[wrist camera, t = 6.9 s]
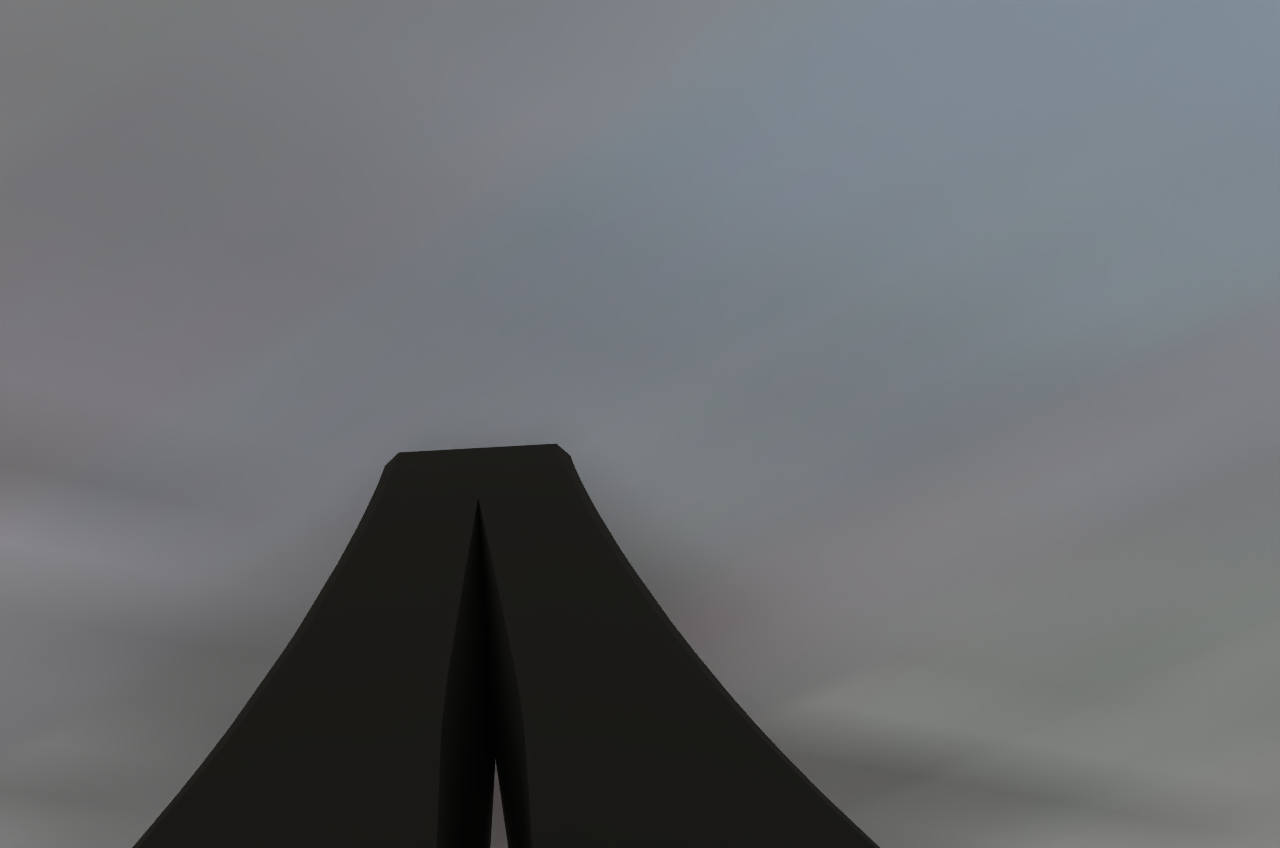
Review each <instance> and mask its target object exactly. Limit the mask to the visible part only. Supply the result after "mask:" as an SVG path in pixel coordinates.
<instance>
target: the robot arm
mask: <svg viewBox="0 0 1280 848" xmlns="http://www.w3.org/2000/svg"><path fill="white" fill-rule="evenodd" d="M495 758H496V765H497V772H498V779H499V786H500V793H501V800H502V807H503V814H504V821H505V827H506V834H507V841H508V848H880V847H879V846H878V845H876V844H875V843H874V842H873V841H872V840H871V839H870V838H869V837H868V836H867V835H866V834H865V833H864V832H863V831H862V830H861V829H860V828H859V827H857V826H856V825H855V824H854V823H853V822H852V821H851V820H850V819H849V818H848V817H847V816H846V815H845V814H844V813H843V812H842V811H841V810H839V809H838V808H837V807H836V806H835V805H834V804H833V803H832V802H831V801H830V800H829V799H828V798H827V797H826V796H825V795H824V794H823V793H822V792H821V791H820V790H819V789H818V788H817V787H816V786H815V785H814V784H813V783H812V782H811V781H810V780H809V779H808V778H807V777H806V776H805V775H804V774H803V773H802V772H801V771H800V770H799V769H798V768H797V767H796V766H795V765H794V764H793V763H792V762H791V761H790V760H789V759H788V758H787V757H786V756H785V755H784V754H783V753H782V752H781V751H780V750H779V749H778V748H777V746H776V745H775V744H774V743H773V742H772V741H771V740H770V739H769V738H768V737H767V736H766V735H765V733H764V732H763V731H762V730H761V729H760V728H759V727H758V726H757V725H756V724H755V723H754V721H753V720H752V719H751V718H750V717H749V716H748V715H747V714H746V712H745V711H744V710H743V709H742V708H741V707H740V706H739V704H738V703H737V702H736V701H735V700H734V699H733V698H732V696H731V695H730V694H729V693H728V692H727V690H726V689H725V688H724V687H723V686H722V684H721V683H720V682H719V681H718V680H717V678H716V677H715V676H714V675H713V674H712V672H711V671H710V670H709V669H708V668H707V666H706V665H705V664H704V663H703V662H702V660H701V659H700V658H699V657H698V655H697V654H696V653H695V652H694V651H693V649H692V648H691V647H690V645H689V644H688V643H687V642H686V640H685V639H684V638H683V636H682V635H681V634H680V632H679V631H678V630H677V629H676V627H675V626H674V625H673V623H672V622H671V621H670V619H669V618H668V617H667V615H666V614H665V612H664V611H663V610H662V608H661V607H660V605H659V604H658V603H657V601H656V600H655V598H654V597H653V596H652V594H651V593H650V591H649V590H648V589H647V587H646V586H645V584H644V583H643V582H642V580H641V579H640V577H639V576H638V575H637V573H636V572H635V570H634V569H633V567H632V566H631V564H630V563H629V561H628V560H627V558H626V557H625V555H624V554H623V552H622V551H621V549H620V548H619V546H618V545H617V543H616V541H615V540H614V538H613V536H612V535H611V533H610V531H609V530H608V528H607V527H606V525H605V523H604V522H603V520H602V518H601V517H600V515H599V513H598V512H597V510H596V508H595V506H594V504H593V503H592V501H591V499H590V497H589V495H588V493H587V492H586V490H585V488H584V486H583V484H582V482H581V480H580V477H579V475H578V473H577V471H576V469H575V467H574V464H573V462H572V459H571V456H570V455H569V454H568V453H567V452H565V451H564V450H563V449H562V448H561V447H560V446H558V445H557V444H543V445H525V446H508V447H490V448H472V449H454V450H436V451H418V452H400V453H398V454H397V455H396V456H395V457H394V458H393V459H392V460H391V461H390V462H389V463H388V464H387V465H385V468H384V470H383V473H382V475H381V478H380V481H379V483H378V485H377V488H376V490H375V492H374V494H373V496H372V499H371V501H370V503H369V505H368V507H367V509H366V511H365V513H364V515H363V517H362V519H361V521H360V523H359V525H358V527H357V529H356V531H355V533H354V534H353V536H352V538H351V540H350V542H349V544H348V546H347V547H346V549H345V551H344V553H343V555H342V557H341V558H340V560H339V562H338V564H337V566H336V567H335V569H334V571H333V572H332V574H331V575H330V577H329V579H328V580H327V582H326V584H325V585H324V587H323V589H322V590H321V592H320V594H319V595H318V597H317V599H316V600H315V602H314V604H313V605H312V607H311V608H310V610H309V612H308V613H307V615H306V617H305V618H304V620H303V622H302V623H301V625H300V627H299V628H298V630H297V631H296V633H295V634H294V636H293V638H292V639H291V641H290V642H289V644H288V645H287V647H286V648H285V650H284V651H283V652H282V654H281V655H280V657H279V658H278V660H277V661H276V662H275V664H274V665H273V667H272V668H271V670H270V671H269V672H268V674H267V675H266V677H265V678H264V680H263V681H262V682H261V684H260V685H259V687H258V688H257V690H256V691H255V692H254V694H253V695H252V697H251V698H250V699H249V701H248V702H247V704H246V705H245V707H244V708H243V709H242V711H241V712H240V714H239V715H238V717H237V718H236V719H235V721H234V722H233V724H232V725H231V726H230V728H229V729H228V730H227V732H226V733H225V734H224V736H223V737H222V738H221V740H220V741H219V742H218V744H217V745H216V746H215V747H214V749H213V750H212V751H211V753H210V754H209V755H208V757H207V758H206V759H205V760H204V762H203V763H202V764H201V766H200V767H199V768H198V769H197V771H196V772H195V773H194V774H193V776H192V777H191V778H190V779H189V781H188V782H187V783H186V784H185V786H184V787H183V788H182V789H181V791H180V792H179V793H178V794H177V795H176V797H175V798H174V799H173V800H172V801H171V803H170V804H169V805H168V806H167V807H166V809H165V810H164V811H163V812H162V813H161V814H160V816H159V817H158V818H157V819H156V820H155V822H154V823H153V824H152V825H151V826H150V827H149V829H148V830H147V831H146V832H145V833H144V835H143V836H142V837H141V838H140V839H139V841H138V842H137V843H136V844H135V845H134V846H133V847H132V848H490V844H491V827H492V810H493V793H494V776H495Z"/></svg>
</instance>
